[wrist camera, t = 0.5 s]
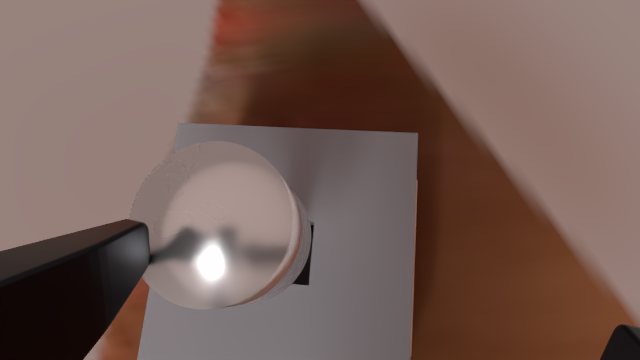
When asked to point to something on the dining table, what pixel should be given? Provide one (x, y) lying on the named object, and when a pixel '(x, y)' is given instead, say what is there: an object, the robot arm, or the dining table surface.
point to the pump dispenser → (316, 255)
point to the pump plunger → (221, 227)
